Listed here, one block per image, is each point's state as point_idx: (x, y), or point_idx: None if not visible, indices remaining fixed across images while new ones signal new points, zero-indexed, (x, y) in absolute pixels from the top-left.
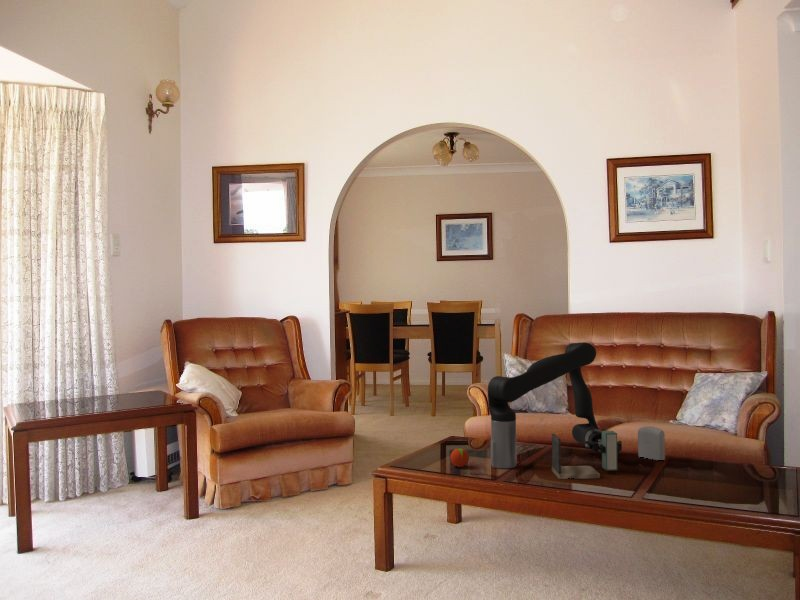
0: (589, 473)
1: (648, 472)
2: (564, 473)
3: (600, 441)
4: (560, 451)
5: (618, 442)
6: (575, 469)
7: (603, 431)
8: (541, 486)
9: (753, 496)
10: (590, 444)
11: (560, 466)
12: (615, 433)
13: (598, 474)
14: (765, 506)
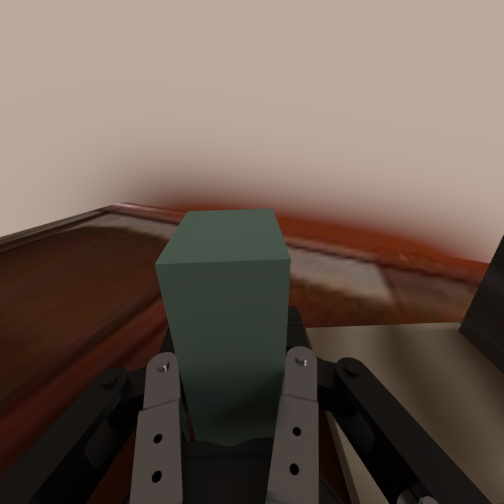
0: (346, 334)
1: (36, 435)
2: (446, 334)
3: (290, 420)
4: (496, 252)
5: (57, 460)
6: (429, 398)
7: (275, 241)
8: (461, 278)
9: (45, 242)
10: (398, 412)
11: (470, 307)
12: (200, 212)
13: (311, 329)
14: (88, 221)
